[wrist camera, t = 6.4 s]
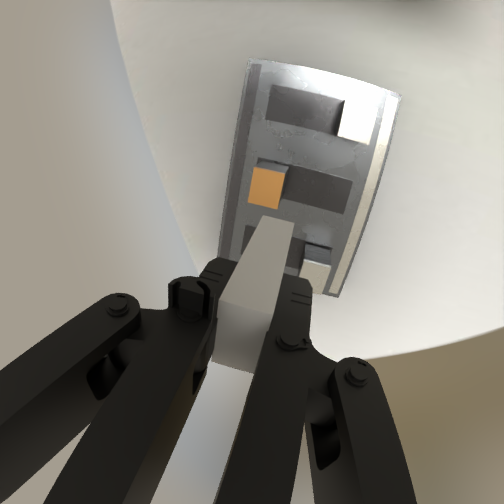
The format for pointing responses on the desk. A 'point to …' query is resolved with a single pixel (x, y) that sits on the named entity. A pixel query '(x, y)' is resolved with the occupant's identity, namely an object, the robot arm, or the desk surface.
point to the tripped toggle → (268, 184)
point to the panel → (309, 164)
